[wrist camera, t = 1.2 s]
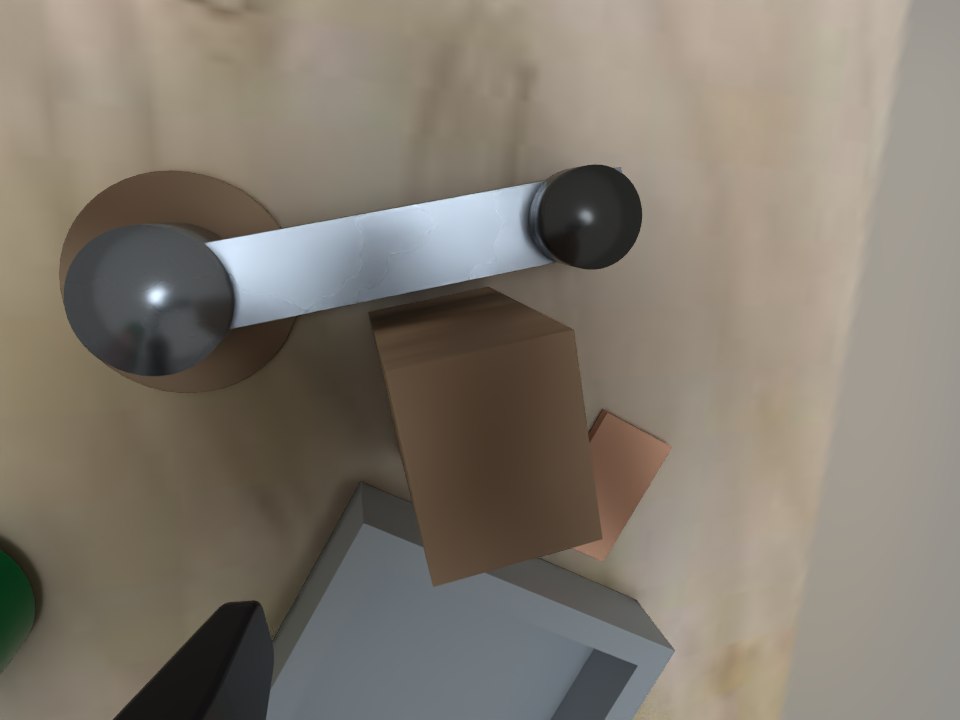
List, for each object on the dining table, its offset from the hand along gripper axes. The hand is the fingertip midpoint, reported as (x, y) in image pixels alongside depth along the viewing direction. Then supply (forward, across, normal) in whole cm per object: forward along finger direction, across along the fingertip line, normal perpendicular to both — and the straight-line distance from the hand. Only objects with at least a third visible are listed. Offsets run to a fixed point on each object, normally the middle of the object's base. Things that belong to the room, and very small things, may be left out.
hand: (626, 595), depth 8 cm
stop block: (+13, +2, +4) cm, 14 cm away
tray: (+10, +4, +15) cm, 19 cm away
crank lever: (+13, +4, -1) cm, 14 cm away
